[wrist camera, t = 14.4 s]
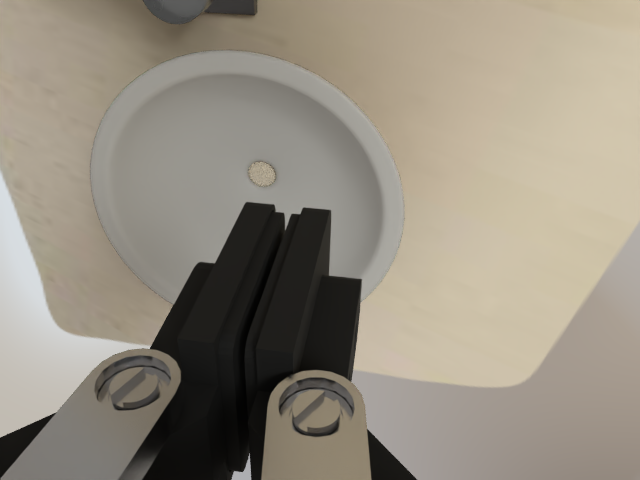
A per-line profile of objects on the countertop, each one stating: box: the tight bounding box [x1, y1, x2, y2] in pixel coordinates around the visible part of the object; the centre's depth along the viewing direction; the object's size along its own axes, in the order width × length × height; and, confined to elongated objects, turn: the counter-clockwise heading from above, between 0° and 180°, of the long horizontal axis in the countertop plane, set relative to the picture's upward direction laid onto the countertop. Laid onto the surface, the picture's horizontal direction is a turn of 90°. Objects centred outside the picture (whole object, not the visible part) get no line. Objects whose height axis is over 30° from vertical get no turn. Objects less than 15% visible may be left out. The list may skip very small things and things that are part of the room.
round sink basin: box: [90, 50, 404, 305], centre depth 48 cm, size 24×24×7 cm
